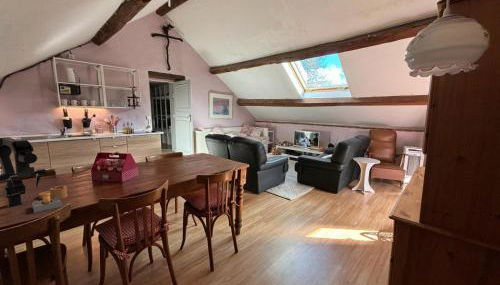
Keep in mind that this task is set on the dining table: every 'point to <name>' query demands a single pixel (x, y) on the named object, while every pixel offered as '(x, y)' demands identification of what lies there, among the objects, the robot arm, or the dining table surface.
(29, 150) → the robot arm
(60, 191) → the wooden mallet
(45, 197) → the wedge pin
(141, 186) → the dining table surface
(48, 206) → the grey slotted block
